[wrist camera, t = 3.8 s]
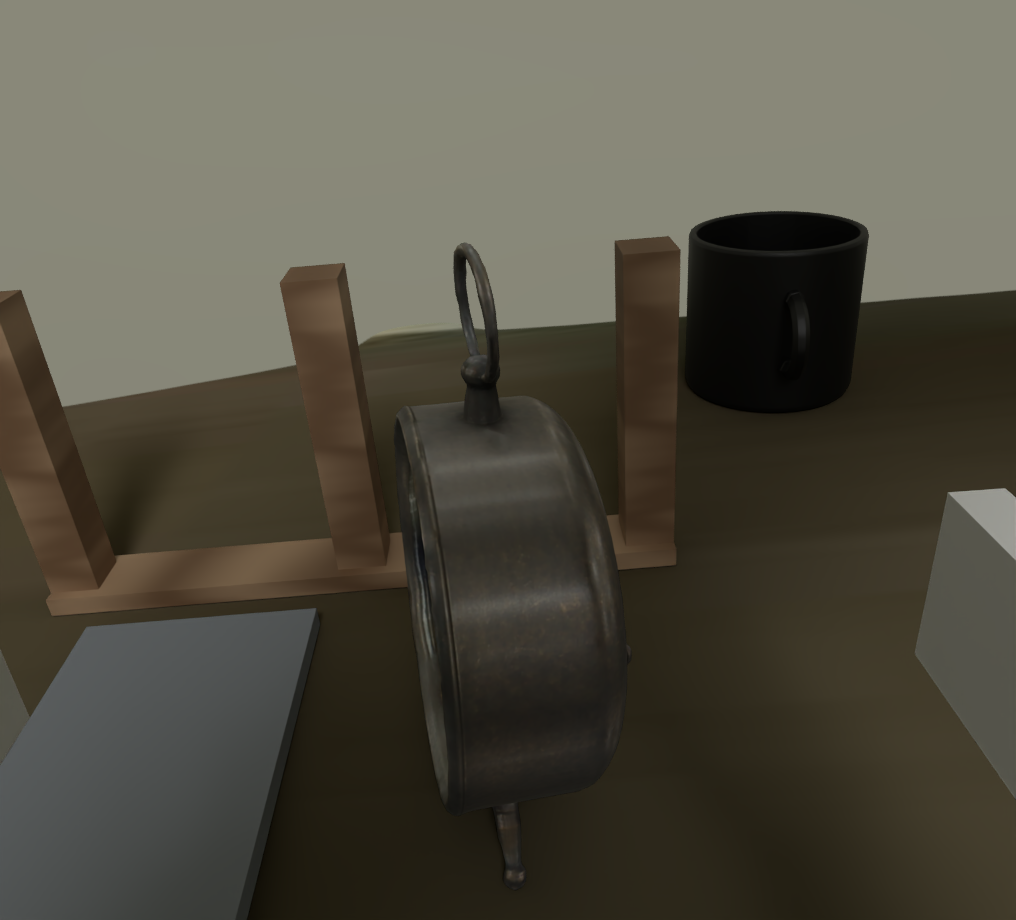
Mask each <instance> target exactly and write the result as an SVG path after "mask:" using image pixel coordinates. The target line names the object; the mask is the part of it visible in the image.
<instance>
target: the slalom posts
mask: <svg viewBox="0 0 1016 920" xmlns="http://www.w3.org/2000/svg"><path fill="white" fill-rule="evenodd" d="M280 287H281V292H282V296H283V302H284V306H285V311H286V316H287V321H288V326H289V331H290V336H291V340H292V346H293V351H294V355H295V360H296V365H297V370H298V375H299V380H300V385H301V390H302V395H303V400H304V404H305V409H306V414H307V419H308V424H309V429H310V434H311V439H312V444H313V448H314V453H315V458H316V463H317V468H318V473H319V478H320V483H321V488H322V493H323V497H324V502H325V507H326V512H327V517H328V522H329V527H330V532H331V537H332V538H325V539H313V540H301V541H289V542H277V543H264V544H252V545H240V546H228V547H215V548H203V549H191V550H179V551H167V552H154V553H142V554H130V555H118V556H114V553H113V550H112V547H111V544H110V541H109V538H108V536H107V533H106V530H105V527H104V524H103V521H102V519H101V516H100V513H99V510H98V507H97V504H96V502H95V499H94V496H93V493H92V490H91V487H90V485H89V482H88V479H87V476H86V473H85V470H84V467H83V465H82V462H81V459H80V456H79V453H78V450H77V448H76V445H75V442H74V439H73V436H72V433H71V431H70V428H69V425H68V422H67V419H66V416H65V414H64V411H63V408H62V405H61V402H60V399H59V396H58V394H57V391H56V388H55V385H54V382H53V379H52V377H51V374H50V371H49V368H48V365H47V362H46V360H45V357H44V354H43V351H42V348H41V345H40V343H39V340H38V337H37V334H36V331H35V328H34V326H33V323H32V320H31V317H30V314H29V312H28V308H27V306H26V303H25V300H24V297H23V294H22V291H21V290H14V291H1V292H0V468H1V471H2V473H3V476H4V478H5V481H6V483H7V486H8V488H9V491H10V493H11V496H12V498H13V500H14V503H15V505H16V508H17V510H18V513H19V515H20V518H21V520H22V523H23V525H24V528H25V530H26V533H27V535H28V538H29V540H30V542H31V545H32V547H33V550H34V552H35V555H36V557H37V560H38V562H39V565H40V567H41V570H42V572H43V575H44V577H45V580H46V582H47V584H48V587H49V589H50V592H51V594H50V595H49V597H48V598H47V600H46V603H47V605H48V607H49V610H50V612H51V615H52V616H59V615H71V614H84V613H96V612H108V611H120V610H133V609H145V608H157V607H169V606H182V605H194V604H206V603H218V602H231V601H243V600H255V599H267V598H280V597H292V596H304V595H316V594H329V593H341V592H353V591H365V590H377V589H390V588H402V587H408V584H407V575H406V566H405V558H404V549H403V540H402V532H399V533H389V528H388V522H387V516H386V510H385V504H384V498H383V492H382V486H381V480H380V474H379V468H378V462H377V456H376V450H375V444H374V438H373V432H372V426H371V420H370V414H369V408H368V402H367V396H366V389H365V383H364V377H363V371H362V365H361V359H360V353H359V347H358V342H357V335H356V330H355V323H354V317H353V311H352V305H351V300H350V293H349V287H348V281H347V275H346V269H345V264H344V263H340V264H329V265H316V266H305V267H292V268H290V269H289V271H288V272H287V274H286V275H285V276H284V278H283V279H282V280H281V282H280ZM679 289H680V249H679V248H678V247H677V245H676V244H675V243H674V242H673V241H672V240H671V238H670V237H668V236H667V237H656V238H643V239H630V240H619V241H615V292H616V293H615V294H616V295H615V297H616V368H617V438H618V508H619V515H606V516H607V520H608V524H609V528H610V532H611V536H612V541H613V546H614V551H615V556H616V561H617V566H618V570H622V569H634V568H647V567H659V566H671V565H676V546H675V544H674V518H675V473H676V428H677V383H678V338H679V293H680V290H679Z"/></svg>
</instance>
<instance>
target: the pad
mask: <svg viewBox="0 0 1016 920" xmlns="http://www.w3.org/2000/svg"><path fill="white" fill-rule="evenodd" d="M319 627H320V621H319V617H318V613H317V608H313V609H300V610H288V611H276V612H264V613H251V614H239V615H227V616H215V617H203V618H190V619H178V620H166V621H154V622H141V623H129V624H117V625H105V626H92V627H86V629H85V631H84V632H83V634H82V635H81V637H80V639H79V640H78V642H77V643H76V645H75V647H74V648H73V650H72V651H71V653H70V655H69V656H68V658H67V659H66V661H65V663H64V664H63V666H62V667H61V669H60V671H59V672H58V674H57V675H56V677H55V679H54V680H53V682H52V683H51V685H50V687H49V688H48V690H47V691H46V693H45V695H44V696H43V698H42V699H41V701H40V703H39V704H38V706H37V707H36V709H35V711H34V712H33V714H32V715H31V717H30V719H29V720H28V722H27V723H26V725H25V727H24V728H23V730H22V731H21V733H20V735H19V736H18V738H17V739H16V741H15V743H14V744H13V746H12V747H11V749H10V751H9V752H8V754H7V755H6V757H5V759H4V760H3V762H2V763H1V765H0V920H247V917H248V913H249V909H250V905H251V901H252V897H253V893H254V889H255V885H256V881H257V877H258V873H259V869H260V865H261V861H262V857H263V853H264V849H265V844H266V840H267V836H268V832H269V828H270V824H271V820H272V816H273V812H274V808H275V804H276V800H277V796H278V792H279V788H280V784H281V780H282V776H283V772H284V768H285V764H286V760H287V756H288V752H289V748H290V744H291V740H292V736H293V732H294V728H295V724H296V720H297V716H298V712H299V708H300V704H301V700H302V695H303V691H304V687H305V683H306V679H307V675H308V671H309V667H310V663H311V659H312V655H313V651H314V647H315V643H316V639H317V635H318V631H319Z"/></svg>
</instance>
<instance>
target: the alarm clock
mask: <svg viewBox="0 0 1016 920" xmlns="http://www.w3.org/2000/svg"><path fill="white" fill-rule="evenodd" d="M466 259H467V260H468V263H469V265H470V267H471V270H472V273H473V275H474V278H475V282H476V288H477V293H478V298H479V301H480V305H481V309H482V313H483V318H484V324H485V332H486V338H487V355H480V353H479V348H478V342H477V339H476V335H475V332H474V327H473V323H472V318H471V314H470V309H469V303H468V297H467V290H466ZM454 282H455V292H456V297H457V301H458V304H459V310H460V318H461V323H462V328H463V332H464V335H465V338H466V341H467V347H468V350H469V353H470V356H471V357H469V358H468V359H466V361H465V362H464V363H463V365H462V366H461V375H462V378H463V379H464V381H465V382H466V384H467V389H466V395H465V401H462V402H453V403H444V404H435V405H423V406H411V407H409V406H404V407H402V408H401V409H400V410H399V412H398V413H397V414H396V420H395V425H394V429H395V433H394V445H395V459H396V477H397V493H398V503H399V509H400V523H401V531H402V540H403V549H404V558H405V566H406V575H407V584H408V594H409V603H410V611H411V620H412V631H413V639H414V645H415V650H416V655H417V662H418V671H419V680H420V686H421V696H422V700H423V707H424V715H425V721H426V727H427V733H428V739H429V745H430V750H431V756H432V761H433V766H434V772H435V776H436V781H437V784H438V788H439V792H440V796H441V800H442V802H443V805H444V806H445V808H446V810H447V811H448V812H449V813H451V814H452V815H454V816H460V815H462V814H464V813H467V812H469V811H474V810H479V809H484V808H489V807H492V808H493V811H494V816H495V821H496V827H497V833H498V839H499V841H500V843H501V847H502V850H503V854H504V859H505V863H506V867H505V871H504V876H503V880H504V883H505V885H506V886H507V887H509V888H511V889H513V890H517V889H519V888H521V887H522V886H523V885H524V883H525V882H526V869H525V868H524V866H523V865H522V862H521V823H520V816H519V810H518V802H522V801H528V800H533V799H538V798H544V797H549V796H554V795H560V794H565V793H571V792H577V791H580V790H582V789H585V788H587V787H589V786H591V785H593V784H594V783H595V782H596V781H597V780H598V779H599V778H600V777H601V775H602V774H603V773H604V771H605V770H606V768H607V767H608V765H609V763H610V761H611V759H612V757H613V755H614V753H615V751H616V748H617V745H618V742H619V738H620V734H621V730H622V725H623V719H624V712H625V702H626V693H627V664H629V662H630V661H631V657H632V651H631V648H630V647H629V646H628V645H627V644H626V631H625V620H624V610H623V599H622V592H621V586H620V580H619V573H618V566H617V561H616V556H615V551H614V546H613V541H612V536H611V532H610V528H609V524H608V520H607V516H606V512H605V508H604V505H603V502H602V498H601V495H600V492H599V489H598V486H597V483H596V480H595V477H594V474H593V471H592V469H591V467H590V465H589V462H588V460H587V458H586V455H585V453H584V451H583V449H582V447H581V445H580V443H579V442H578V440H577V438H576V436H575V435H574V433H573V432H572V430H571V428H570V427H569V426H568V425H567V423H566V422H565V421H564V419H563V418H562V417H561V416H560V415H559V414H558V413H557V412H556V411H555V410H554V409H552V408H551V407H550V406H548V405H547V404H546V403H544V402H542V401H539V400H537V399H535V398H532V397H528V396H515V397H503V398H498V394H497V389H496V382H497V380H498V378H499V376H500V367H499V345H498V330H497V321H496V311H495V305H494V299H493V294H492V290H491V286H490V283H489V279H488V276H487V272H486V269H485V267H484V265H483V263H482V261H481V259H480V256H479V254H478V253H477V251H476V250H475V249H474V248H473V247H472V246H471V245H470V244H467V243H461V244H460V245H458V246H457V248H456V250H455V251H454Z"/></svg>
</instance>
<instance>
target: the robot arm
mask: <svg viewBox="0 0 1016 920" xmlns="http://www.w3.org/2000/svg"><path fill="white" fill-rule="evenodd" d="M915 655H916V656H917V658H918V659H919V661H920V662H921V663H922V665H923V666H924V668H925V669H926V671H927V672H928V674H929V675H930V676H931V678H932V679H933V681H934V682H935V684H936V685H937V687H938V688H939V689H940V691H941V692H942V694H943V695H944V697H945V698H946V700H947V701H948V702H949V704H950V705H951V707H952V708H953V710H954V711H955V713H956V714H957V715H958V717H959V718H960V720H961V721H962V723H963V724H964V726H965V727H966V728H967V730H968V731H969V733H970V734H971V736H972V737H973V739H974V740H975V741H976V743H977V744H978V746H979V747H980V749H981V750H982V752H983V753H984V754H985V756H986V757H987V759H988V760H989V762H990V763H991V765H992V766H993V767H994V769H995V770H996V772H997V773H998V775H999V776H1000V777H1001V779H1002V780H1003V782H1004V783H1005V785H1006V786H1007V788H1008V789H1009V790H1010V792H1011V793H1012V795H1013V796H1014V798H1015V799H1016V498H1015V497H1014V496H1013V495H1012V494H1011V493H1010V492H1009V491H1008V490H1006V489H1005V488H1004V489H990V490H976V491H962V492H948V494H947V499H946V504H945V509H944V514H943V519H942V524H941V528H940V533H939V538H938V543H937V548H936V553H935V558H934V562H933V567H932V572H931V577H930V582H929V587H928V592H927V596H926V601H925V606H924V611H923V616H922V621H921V626H920V630H919V635H918V640H917V645H916V650H915ZM29 718H30V717H29V715H28V713H27V710H26V708H25V706H24V703H23V701H22V699H21V697H20V694H19V692H18V690H17V687H16V685H15V683H14V680H13V678H12V676H11V674H10V671H9V669H8V667H7V664H6V662H5V660H4V657H3V655H2V653H1V650H0V763H1V762H2V760H3V759H4V757H5V755H6V754H7V752H8V751H9V749H10V748H11V746H12V744H13V743H14V741H15V740H16V738H17V737H18V735H19V733H20V732H21V730H22V729H23V727H24V726H25V724H26V722H27V721H28V719H29Z"/></svg>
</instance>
